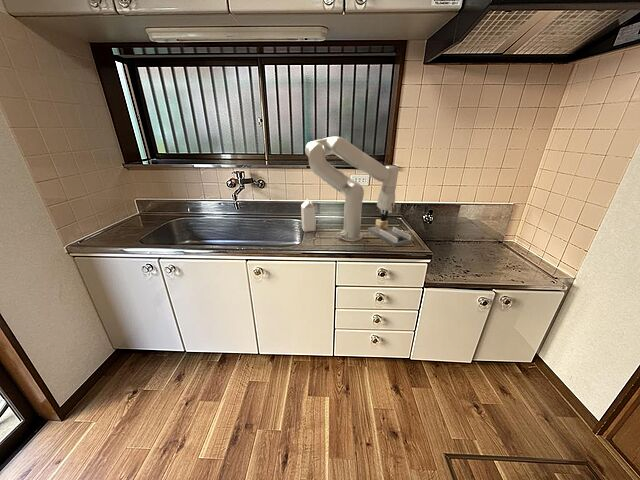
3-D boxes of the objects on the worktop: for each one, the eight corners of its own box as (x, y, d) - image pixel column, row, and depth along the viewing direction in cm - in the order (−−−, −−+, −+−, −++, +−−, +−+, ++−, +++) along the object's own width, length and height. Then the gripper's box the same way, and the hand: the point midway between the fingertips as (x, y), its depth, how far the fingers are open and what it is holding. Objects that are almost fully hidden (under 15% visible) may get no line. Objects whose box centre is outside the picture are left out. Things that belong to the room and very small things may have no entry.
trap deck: (393, 246, 135) (394, 239, 133) (367, 230, 156) (368, 224, 154) (411, 243, 140) (412, 235, 138) (383, 227, 161) (384, 221, 159)
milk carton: (304, 232, 155) (303, 201, 147) (301, 228, 161) (300, 198, 154) (315, 230, 157) (315, 200, 149) (312, 226, 163) (312, 197, 156)
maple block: (379, 230, 152) (380, 222, 150) (375, 227, 156) (376, 219, 154) (387, 228, 154) (387, 221, 152) (382, 226, 158) (383, 218, 156)
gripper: (374, 186, 145) (370, 217, 152) (391, 192, 133) (386, 225, 140) (385, 186, 148) (381, 216, 155) (402, 191, 135) (397, 224, 143)
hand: (383, 220), depth 147 cm, fingers closed
